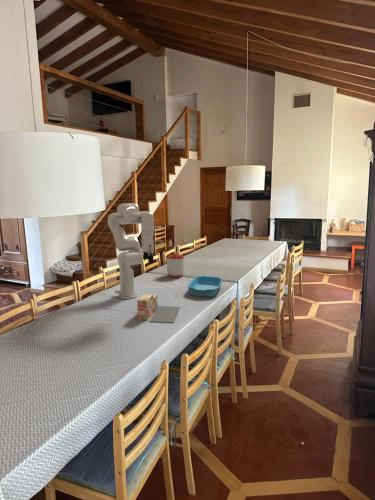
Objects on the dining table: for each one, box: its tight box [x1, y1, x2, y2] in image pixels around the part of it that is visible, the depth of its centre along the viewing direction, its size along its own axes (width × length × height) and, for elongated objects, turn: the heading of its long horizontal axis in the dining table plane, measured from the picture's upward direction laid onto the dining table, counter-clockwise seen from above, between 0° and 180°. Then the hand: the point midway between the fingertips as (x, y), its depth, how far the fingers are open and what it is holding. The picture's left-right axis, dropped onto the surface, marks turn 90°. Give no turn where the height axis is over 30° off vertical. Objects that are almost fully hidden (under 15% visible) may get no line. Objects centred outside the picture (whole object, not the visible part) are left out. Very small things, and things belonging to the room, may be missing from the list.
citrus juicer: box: [164, 252, 186, 278], centre depth 306 cm, size 16×17×20 cm
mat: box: [149, 305, 181, 324], centre depth 219 cm, size 14×26×1 cm, turn 173°
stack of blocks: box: [136, 293, 159, 321], centre depth 219 cm, size 21×6×12 cm, turn 169°
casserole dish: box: [187, 275, 223, 298], centre depth 266 cm, size 37×22×7 cm, turn 165°
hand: (148, 260), depth 221 cm, fingers open, 9 cm apart
